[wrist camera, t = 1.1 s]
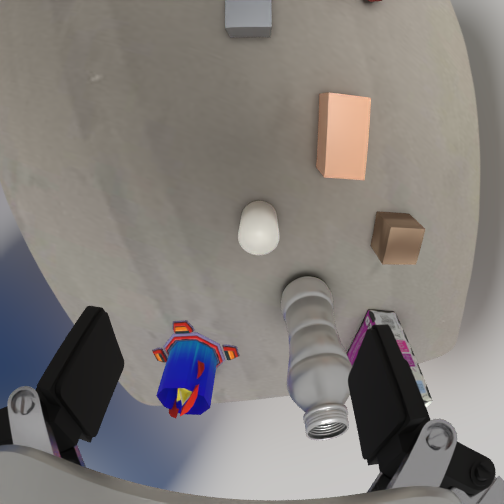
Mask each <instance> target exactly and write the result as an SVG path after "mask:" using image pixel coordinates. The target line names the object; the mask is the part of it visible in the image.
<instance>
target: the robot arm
mask: <svg viewBox="0 0 504 504" xmlns="http://www.w3.org/2000/svg"><path fill="white" fill-rule="evenodd" d="M123 368H124V359H123V356H122V354H121V351H120V348H119V345H118V343H117V340H116V337H115V334H114V331H113V328H112V325H111V322H110V319H109V316H108V313H107V312H105V311H104V309H103V308H101V307H94V306H87V307H86V309H85V310H84V312H83V313H82V314H81V316H80V317H79V319H78V320H77V322H76V323H75V325H74V326H73V328H72V329H71V331H70V332H69V334H68V335H67V337H66V338H65V340H64V342H63V343H62V345H61V346H60V348H59V349H58V351H57V353H56V354H55V356H54V357H53V359H52V361H51V362H50V364H49V366H48V367H47V369H46V371H45V372H44V374H43V376H42V377H41V379H40V381H39V383H38V384H37V388H36V390H34V389H33V388H31V387H27V386H24V387H20V388H18V389H16V390H15V391H13V392H12V394H11V395H10V397H9V399H8V406H7V407H4V408H2V409H0V504H504V481H503V480H502V478H501V477H500V476H498V477H497V478H496V477H495V467H494V464H493V462H492V461H491V460H490V459H489V458H487V457H486V456H484V455H482V454H480V453H478V452H476V451H474V450H472V449H470V448H468V447H466V446H464V445H462V444H461V443H459V442H457V433H456V431H455V428H454V427H453V426H452V425H451V423H449V422H447V421H446V420H443V419H433V420H430V418H429V415H428V412H427V409H426V406H425V404H424V401H423V398H422V396H421V393H420V390H419V388H418V385H417V383H416V380H415V378H414V375H413V373H412V370H411V368H410V365H409V363H408V361H407V360H406V359H405V358H404V357H403V355H402V353H401V350H400V348H399V346H398V343H397V341H396V339H395V337H394V334H393V332H392V330H391V328H390V326H389V325H388V324H383V325H373V326H372V327H371V329H367V331H366V333H365V336H364V339H363V341H362V344H361V346H360V349H359V351H358V354H357V356H356V359H355V361H354V364H353V366H352V368H351V371H350V373H349V376H348V386H349V391H350V396H351V400H352V405H353V410H354V415H355V419H356V424H357V430H358V434H359V440H360V445H361V451H362V456H363V458H364V459H367V462H368V465H373V464H379V469H380V473H379V475H378V476H377V478H376V479H375V481H374V482H373V484H372V485H371V487H370V489H369V490H368V492H367V493H362V494H355V495H348V496H340V497H331V498H321V499H308V500H285V501H263V500H238V499H225V498H215V497H206V496H198V495H191V494H185V493H179V492H173V491H168V490H163V489H159V488H154V487H149V486H145V485H141V484H137V483H133V482H130V481H126V480H122V479H119V478H116V477H113V476H109V475H106V474H103V473H100V472H97V471H94V470H91V469H89V468H86V466H85V463H84V461H83V459H82V456H81V454H80V451H79V448H78V446H77V443H78V440H79V439H82V440H85V441H87V442H91V440H92V437H95V436H96V435H97V433H98V431H99V428H100V425H101V423H102V420H103V417H104V415H105V412H106V410H107V407H108V404H109V402H110V400H111V397H112V395H113V392H114V389H115V387H116V385H117V382H118V380H119V378H120V375H121V373H122V371H123Z"/></svg>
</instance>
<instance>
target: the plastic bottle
mask: <svg viewBox="0 0 504 504" xmlns="http://www.w3.org/2000/svg"><path fill="white" fill-rule="evenodd" d="M333 309H334V307H333V296H332V293H331V291H330V290H329V288H328V287H327V285H326V284H325V283H324V282H323V281H322V280H320V279H318V278H316V277H310V276H307V277H300V278H298V279H296V280H294V281H292V282H291V283H290V284H288V285H287V287H286V288H285V290H284V291H283V294H282V299H281V311H282V315H283V318H284V320H285V322H286V326H287V331H288V336H289V366H288V375H287V390H288V392H289V394H290V397H291V398H292V400H293V401H294V402H295V403H296V404H297V405H298V406H299V407H300V408H301V409H302V410H303V411H304V412H306V413H305V414H304V423H305V429H306V436H307V437H308V438H310V439H313V440H327V439H332V438H335V437H338V436H340V435H342V434H343V433H345V432H346V431H347V430H348V428H349V427H348V426H349V424H348V418H347V415H348V411H347V407H346V406H345V405H344V404H345V402H346V400H347V399H348V397H349V395H350V391H349V386H348V376H349V373H350V371H351V368H352V365H351V363H350V361H349V358H348V356H347V354H346V352H345V350H344V348H343V346H342V344H341V341H340V338H339V335H338V332H337V329H336V325H335V319H334V313H333Z"/></svg>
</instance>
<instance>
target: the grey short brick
mask: <svg viewBox="0 0 504 504" xmlns="http://www.w3.org/2000/svg"><path fill="white" fill-rule="evenodd" d="M271 28H272V10H271V0H225V29H226V31H227V32H228V34H229V36H230V38H234V37H270V36H271Z"/></svg>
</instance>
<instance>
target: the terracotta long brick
mask: <svg viewBox="0 0 504 504" xmlns="http://www.w3.org/2000/svg"><path fill="white" fill-rule="evenodd" d="M370 106H371V98H367V97H360V96H353V95H346V94H337V93H322V94H319V123H318V145H317V162H316V168H317V169H318V170H319V171H320V173H321V174H322V175H323V176H324V177H325V178H342V179H356V180H364V179H365V170H366V160H367V149H368V138H369V124H370Z"/></svg>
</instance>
